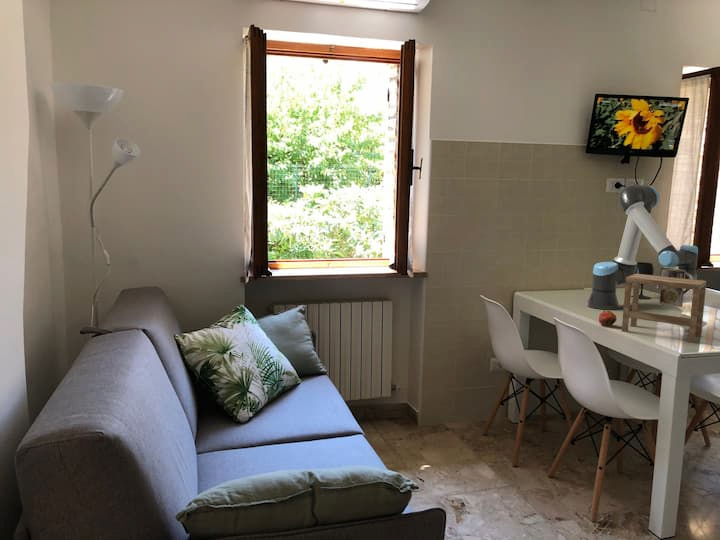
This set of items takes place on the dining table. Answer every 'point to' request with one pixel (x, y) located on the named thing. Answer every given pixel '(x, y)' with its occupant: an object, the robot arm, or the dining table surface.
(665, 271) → the coffee box
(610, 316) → the pomegranate
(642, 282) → the walnut table
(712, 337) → the dining table surface
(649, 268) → the wine glass
